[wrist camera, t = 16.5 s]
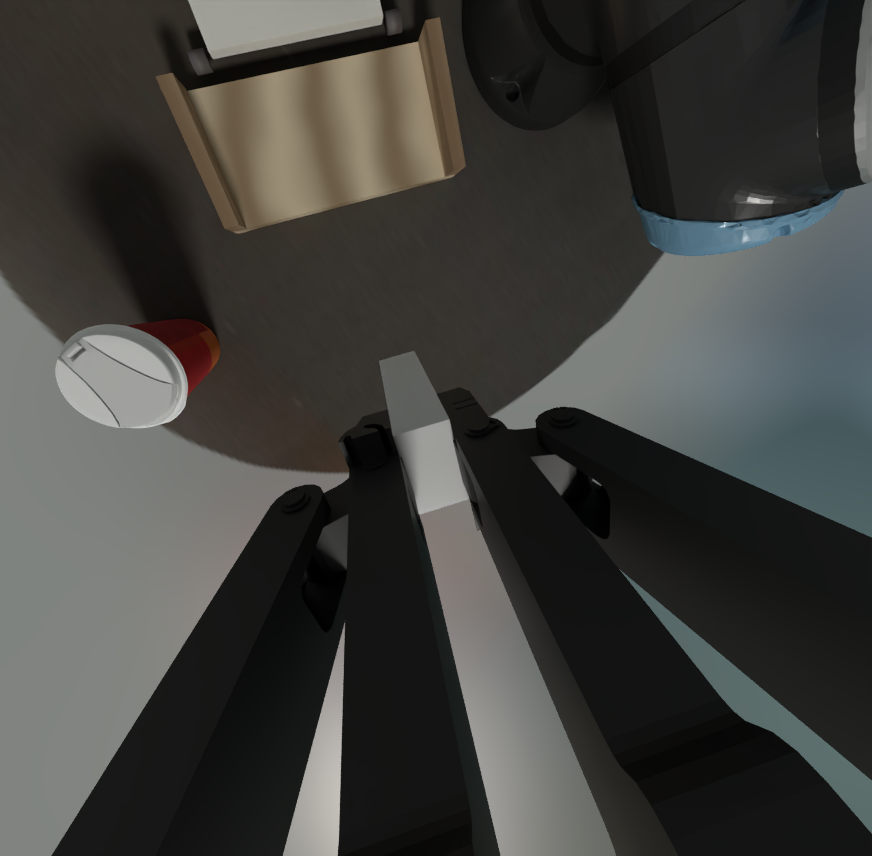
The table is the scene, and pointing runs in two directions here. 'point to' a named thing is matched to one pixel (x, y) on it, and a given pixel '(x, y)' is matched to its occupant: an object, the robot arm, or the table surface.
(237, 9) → the tailgate
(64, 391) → the paper cup
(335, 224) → the table surface
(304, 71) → the cart bed
